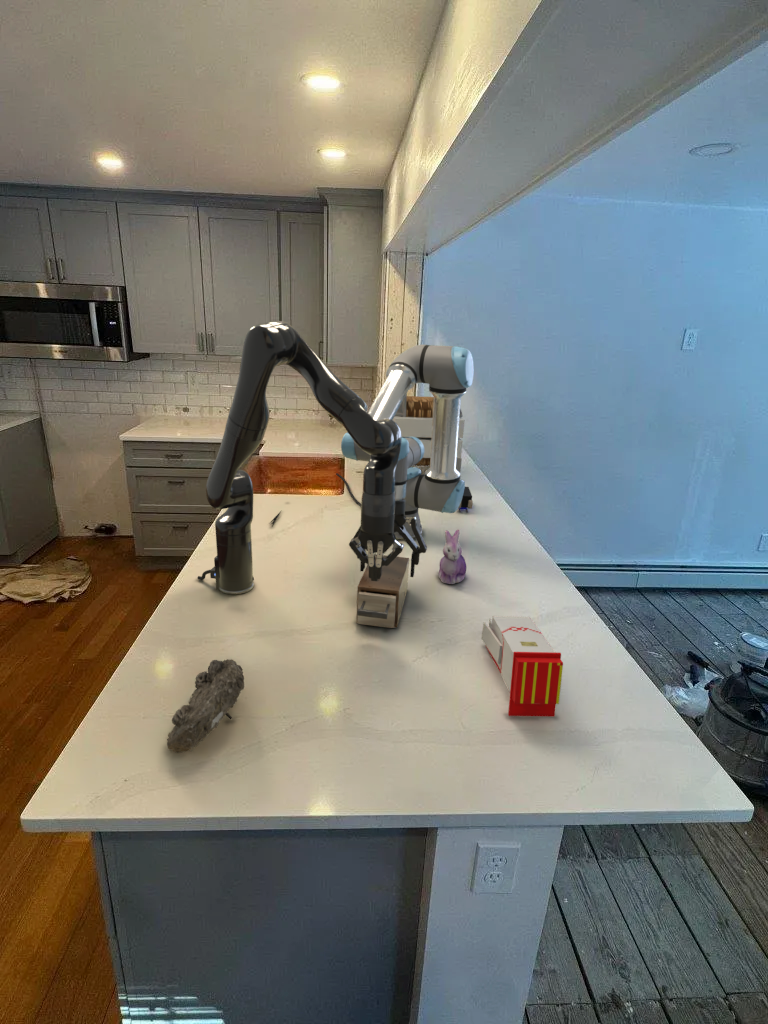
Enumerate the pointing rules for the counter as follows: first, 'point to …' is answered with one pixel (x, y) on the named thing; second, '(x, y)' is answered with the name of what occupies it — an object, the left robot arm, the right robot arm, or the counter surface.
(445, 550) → the figurine
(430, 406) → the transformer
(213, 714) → the grey lumpy elongated piece
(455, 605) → the counter surface
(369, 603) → the drawer
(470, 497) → the figurine character
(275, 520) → the feather
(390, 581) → the cabinet
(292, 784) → the counter surface
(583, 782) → the counter surface
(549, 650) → the toy
